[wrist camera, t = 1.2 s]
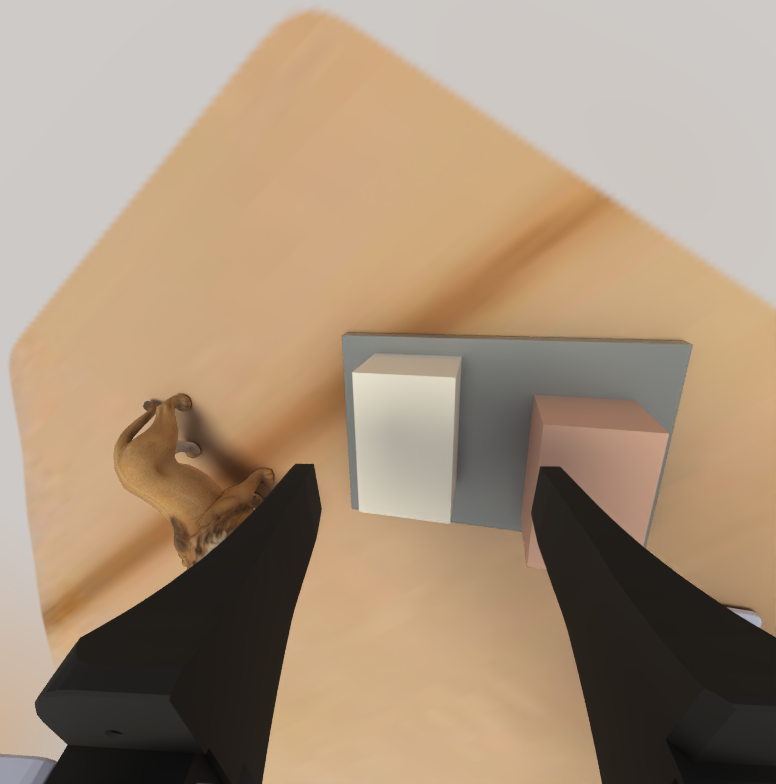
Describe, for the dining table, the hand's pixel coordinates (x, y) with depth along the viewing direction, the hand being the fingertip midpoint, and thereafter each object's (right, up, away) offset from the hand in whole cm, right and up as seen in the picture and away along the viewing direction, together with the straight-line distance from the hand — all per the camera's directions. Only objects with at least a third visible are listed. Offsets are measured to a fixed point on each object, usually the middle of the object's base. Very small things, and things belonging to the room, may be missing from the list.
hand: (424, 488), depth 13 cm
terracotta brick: (+9, -1, +10) cm, 13 cm away
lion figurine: (-12, -2, +17) cm, 21 cm away
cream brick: (+1, +1, +11) cm, 11 cm away
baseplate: (+5, +1, +11) cm, 12 cm away
